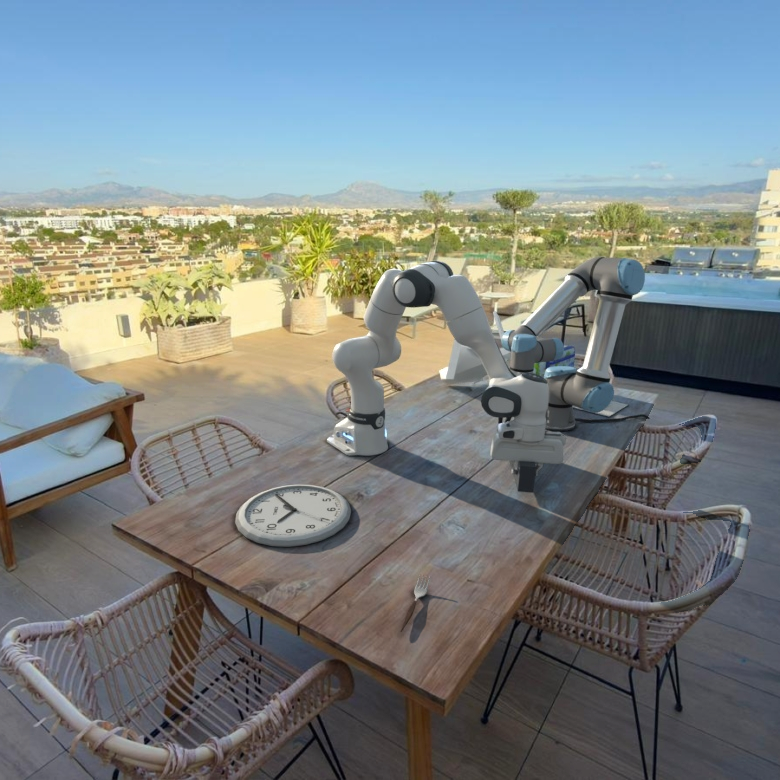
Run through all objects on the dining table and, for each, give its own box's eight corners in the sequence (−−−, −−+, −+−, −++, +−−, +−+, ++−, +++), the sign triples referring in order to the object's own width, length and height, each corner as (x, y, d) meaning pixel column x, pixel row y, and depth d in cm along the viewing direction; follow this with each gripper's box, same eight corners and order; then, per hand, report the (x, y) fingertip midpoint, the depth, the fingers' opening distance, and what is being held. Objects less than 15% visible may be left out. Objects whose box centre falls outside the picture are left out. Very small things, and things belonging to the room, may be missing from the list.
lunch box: (547, 396, 238) (552, 351, 232) (526, 391, 246) (531, 347, 239) (574, 385, 256) (579, 343, 250) (554, 380, 263) (559, 340, 257)
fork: (394, 632, 98) (394, 623, 98) (419, 581, 113) (419, 573, 112) (407, 636, 97) (407, 627, 97) (430, 584, 112) (431, 576, 111)
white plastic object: (461, 429, 252) (437, 405, 227) (444, 352, 274) (420, 323, 250) (535, 404, 240) (518, 377, 215) (510, 326, 262) (492, 293, 237)
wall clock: (351, 538, 125) (223, 542, 122) (351, 544, 125) (223, 548, 123) (350, 480, 153) (246, 482, 151) (350, 485, 154) (246, 487, 151)
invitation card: (608, 416, 214) (573, 407, 224) (608, 416, 214) (573, 408, 224) (628, 404, 229) (594, 396, 238) (628, 405, 229) (594, 397, 238)
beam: (505, 443, 182) (507, 422, 180) (518, 444, 182) (520, 422, 180) (517, 491, 148) (520, 465, 146) (533, 492, 147) (536, 466, 145)
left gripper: (564, 428, 149) (559, 472, 153) (492, 424, 152) (488, 467, 156) (569, 436, 143) (563, 482, 148) (493, 432, 146) (489, 476, 150)
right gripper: (545, 380, 173) (538, 445, 180) (492, 377, 175) (487, 442, 182) (549, 387, 166) (542, 454, 173) (493, 384, 168) (488, 451, 175)
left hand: (524, 474), depth 152 cm, fingers closed on beam, 4 cm apart
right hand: (513, 448), depth 177 cm, fingers closed on beam, 4 cm apart
